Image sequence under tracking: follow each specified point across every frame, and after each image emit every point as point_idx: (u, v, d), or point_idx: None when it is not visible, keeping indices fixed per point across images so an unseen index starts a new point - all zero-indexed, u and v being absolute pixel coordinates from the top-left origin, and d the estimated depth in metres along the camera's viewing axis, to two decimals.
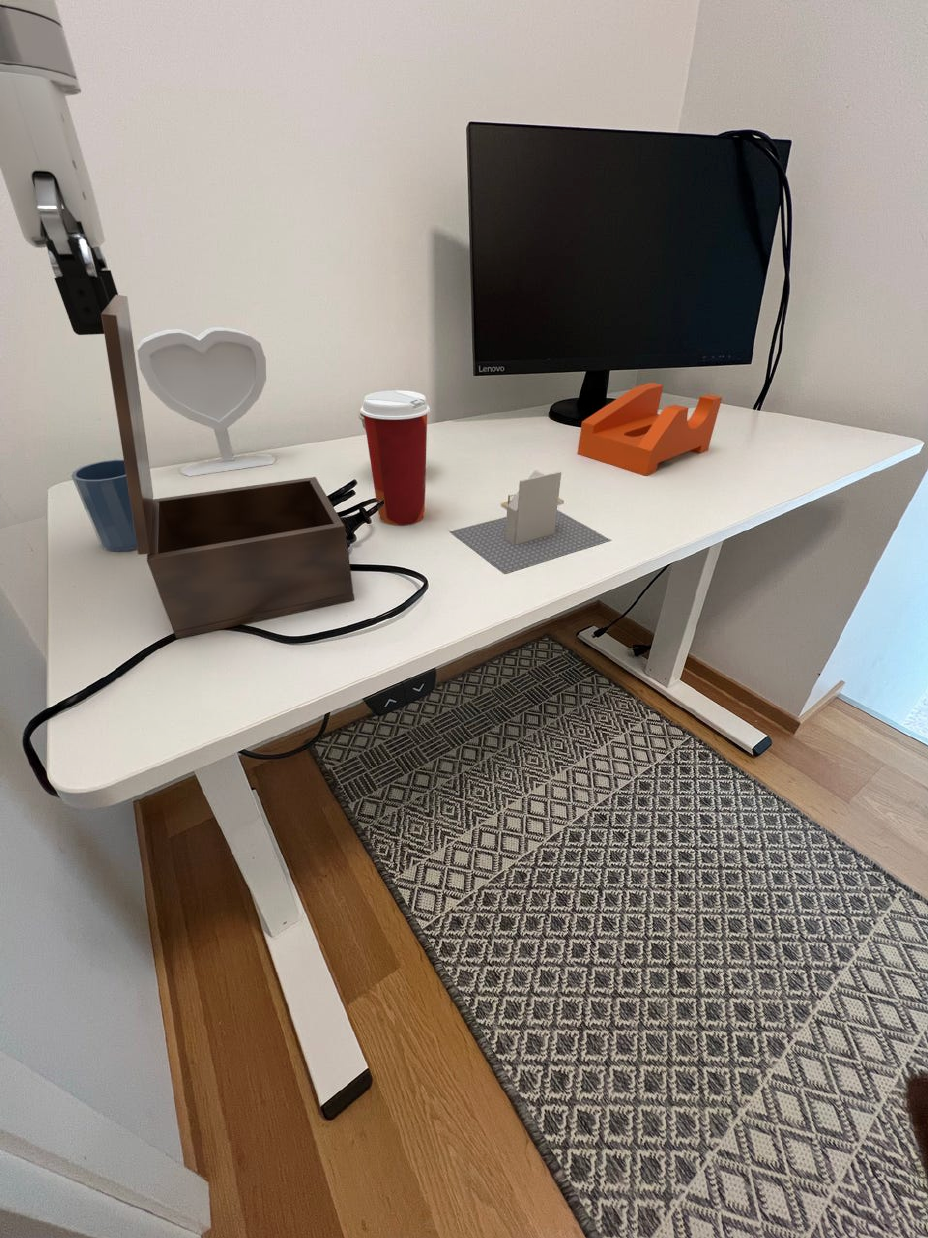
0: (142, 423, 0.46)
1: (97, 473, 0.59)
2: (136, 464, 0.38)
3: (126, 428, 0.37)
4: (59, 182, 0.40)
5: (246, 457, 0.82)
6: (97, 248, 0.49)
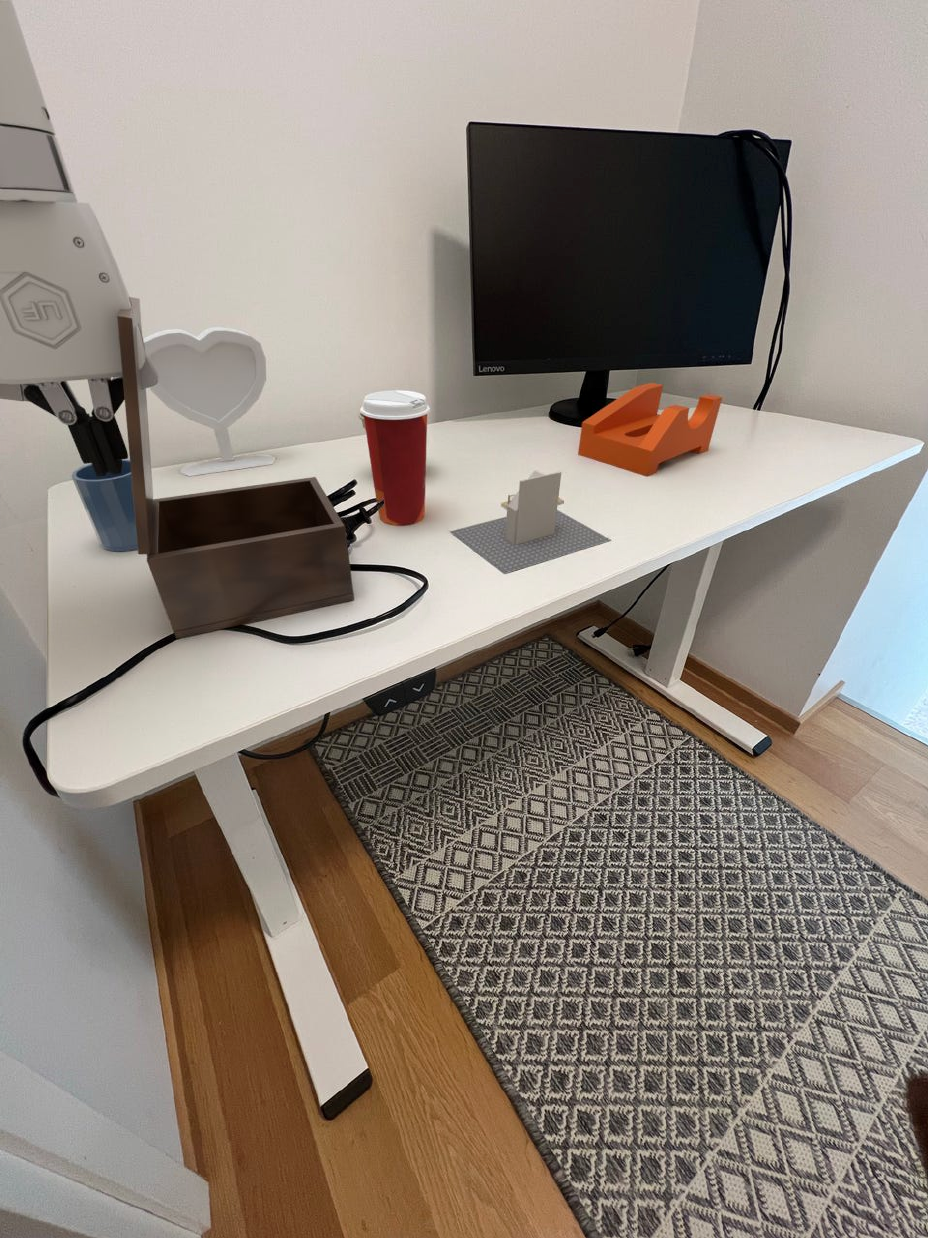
0: (147, 424, 0.46)
1: None
2: (142, 465, 0.38)
3: (134, 429, 0.37)
4: None
5: (246, 457, 0.82)
6: None
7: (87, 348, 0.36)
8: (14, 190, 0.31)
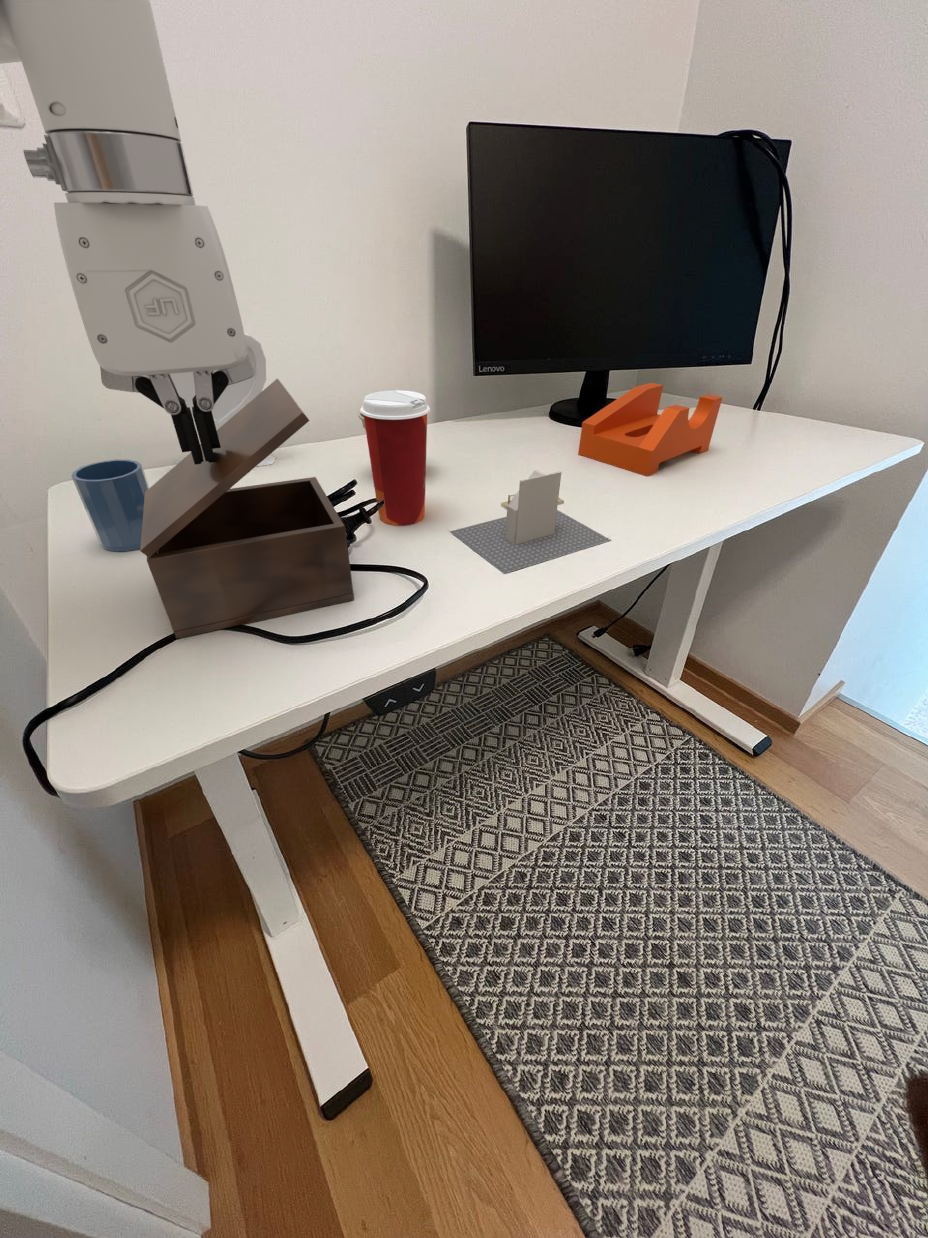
0: None
1: (97, 473, 0.59)
2: (216, 498, 0.42)
3: (238, 475, 0.41)
4: None
5: None
6: None
7: (199, 342, 0.39)
8: (150, 194, 0.33)
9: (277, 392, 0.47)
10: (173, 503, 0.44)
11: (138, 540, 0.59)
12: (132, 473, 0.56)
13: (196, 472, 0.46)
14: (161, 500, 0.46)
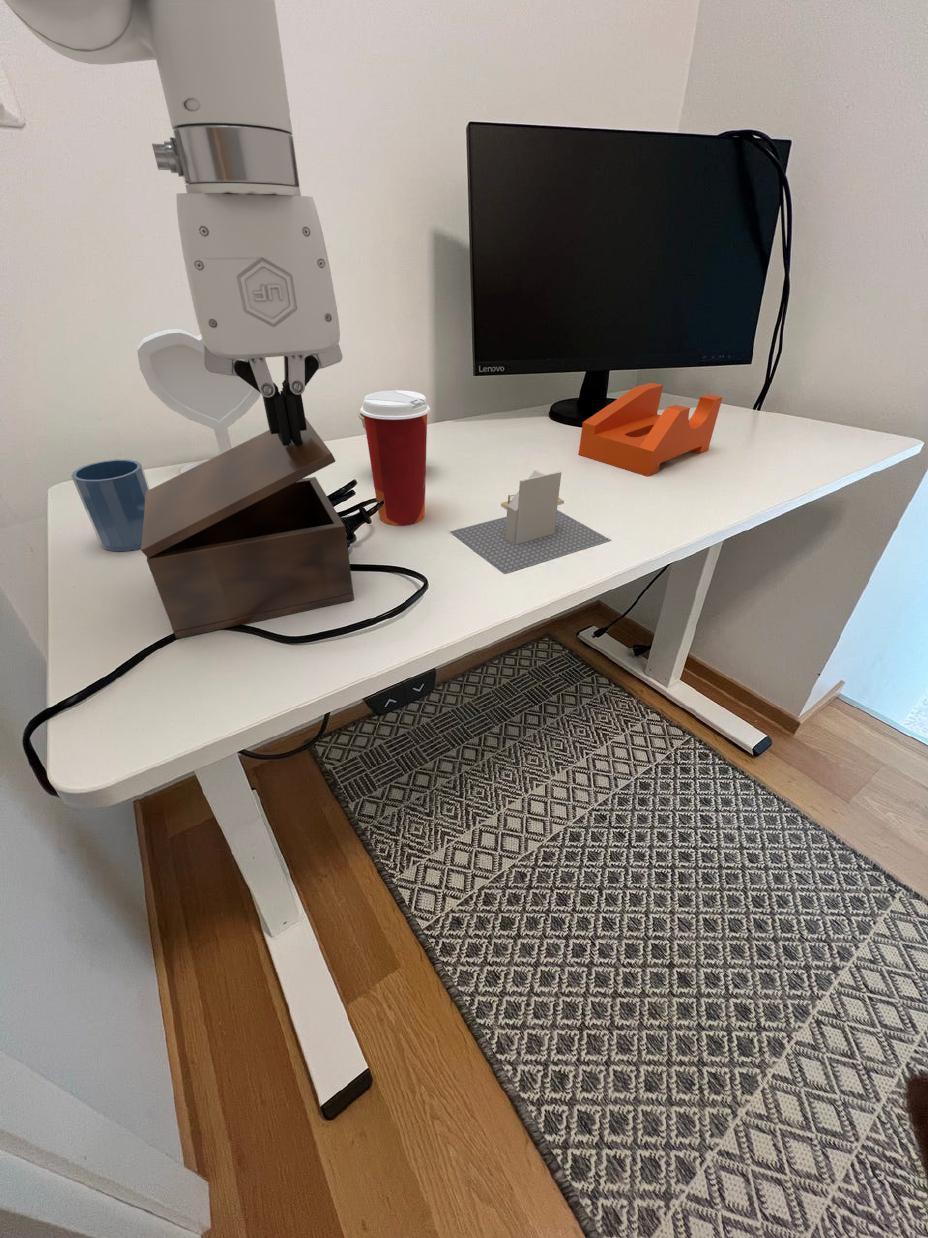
0: None
1: (97, 473, 0.59)
2: (230, 515, 0.43)
3: (256, 497, 0.43)
4: None
5: None
6: None
7: (299, 327, 0.41)
8: (268, 185, 0.35)
9: None
10: (181, 510, 0.45)
11: (138, 540, 0.59)
12: (132, 473, 0.56)
13: (209, 484, 0.47)
14: (166, 504, 0.47)
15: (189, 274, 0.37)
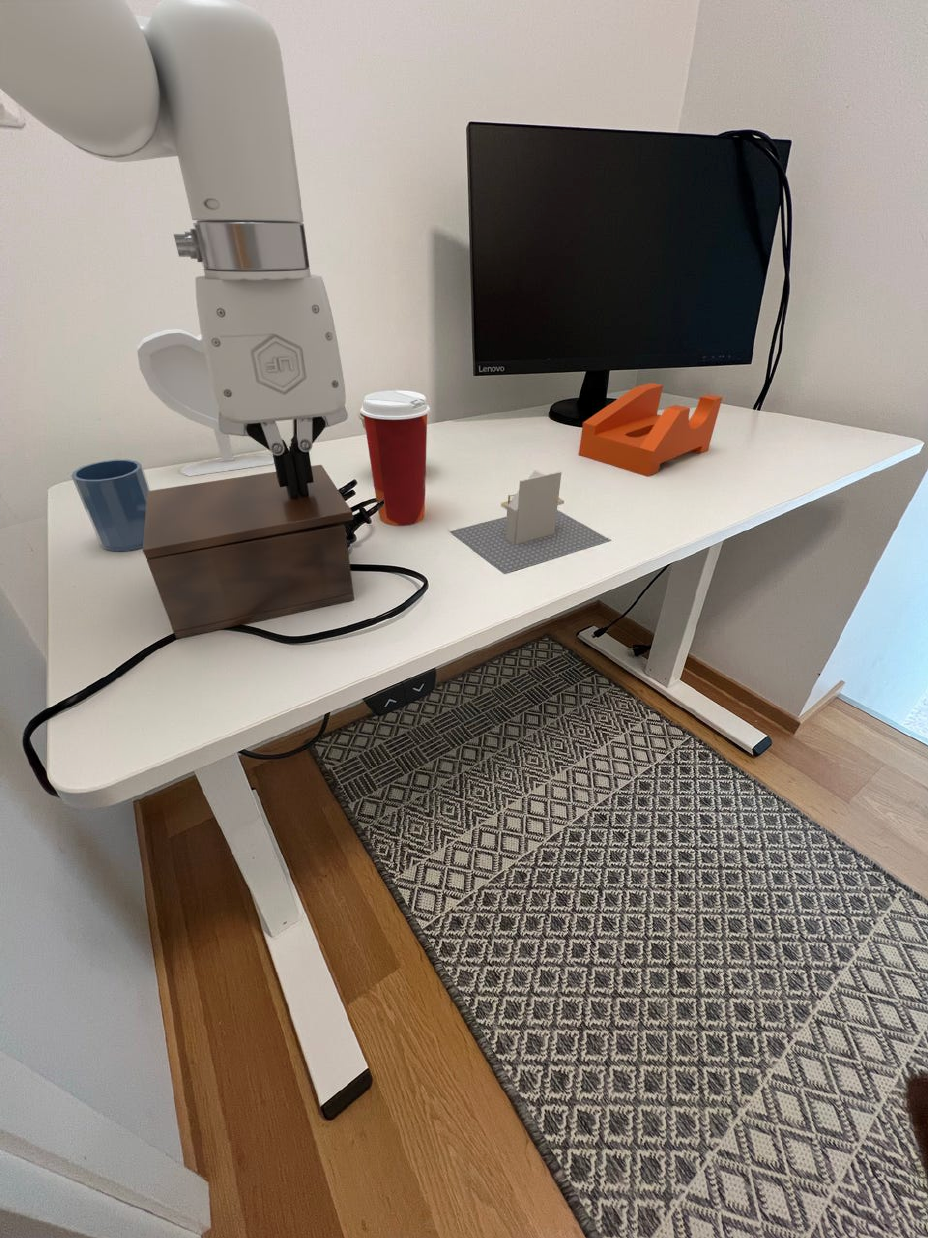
0: None
1: (97, 473, 0.59)
2: (240, 540, 0.44)
3: (271, 531, 0.45)
4: None
5: (246, 457, 0.82)
6: None
7: (307, 393, 0.44)
8: (281, 271, 0.38)
9: (322, 478, 0.53)
10: (189, 521, 0.45)
11: (138, 540, 0.59)
12: (132, 473, 0.56)
13: (220, 505, 0.48)
14: (172, 511, 0.47)
15: (206, 350, 0.40)
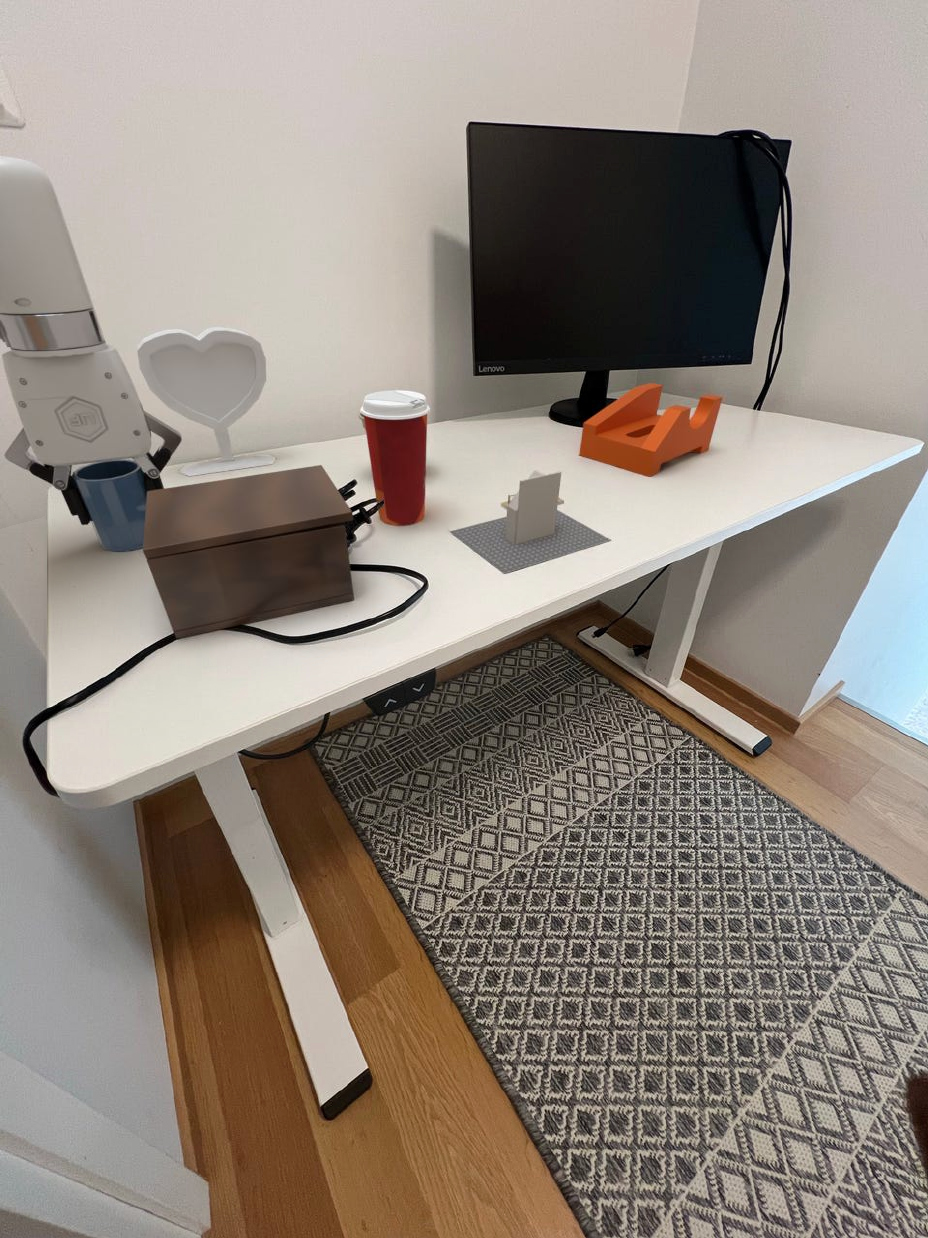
0: None
1: (97, 473, 0.59)
2: (241, 540, 0.44)
3: (271, 531, 0.45)
4: (142, 407, 0.56)
5: (246, 457, 0.82)
6: None
7: (112, 441, 0.53)
8: (68, 350, 0.48)
9: (322, 478, 0.53)
10: (189, 521, 0.45)
11: (138, 540, 0.59)
12: (132, 473, 0.56)
13: (220, 505, 0.48)
14: (172, 511, 0.47)
15: (17, 409, 0.50)
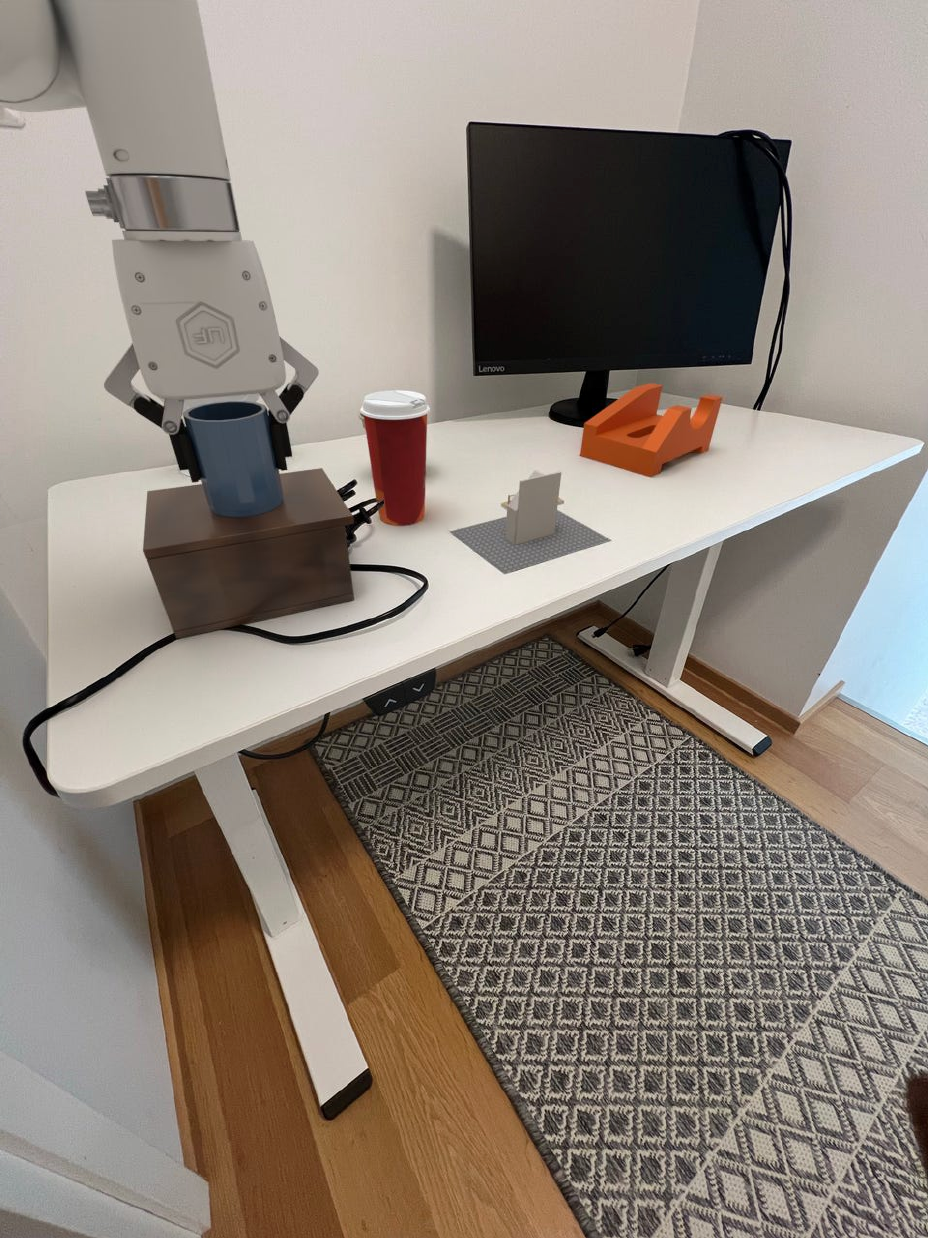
0: None
1: (208, 418, 0.46)
2: (241, 542, 0.44)
3: (271, 533, 0.45)
4: None
5: None
6: None
7: (242, 368, 0.41)
8: (203, 232, 0.35)
9: (322, 481, 0.53)
10: (190, 522, 0.45)
11: (259, 503, 0.46)
12: (260, 414, 0.44)
13: None
14: (172, 511, 0.47)
15: (127, 318, 0.37)
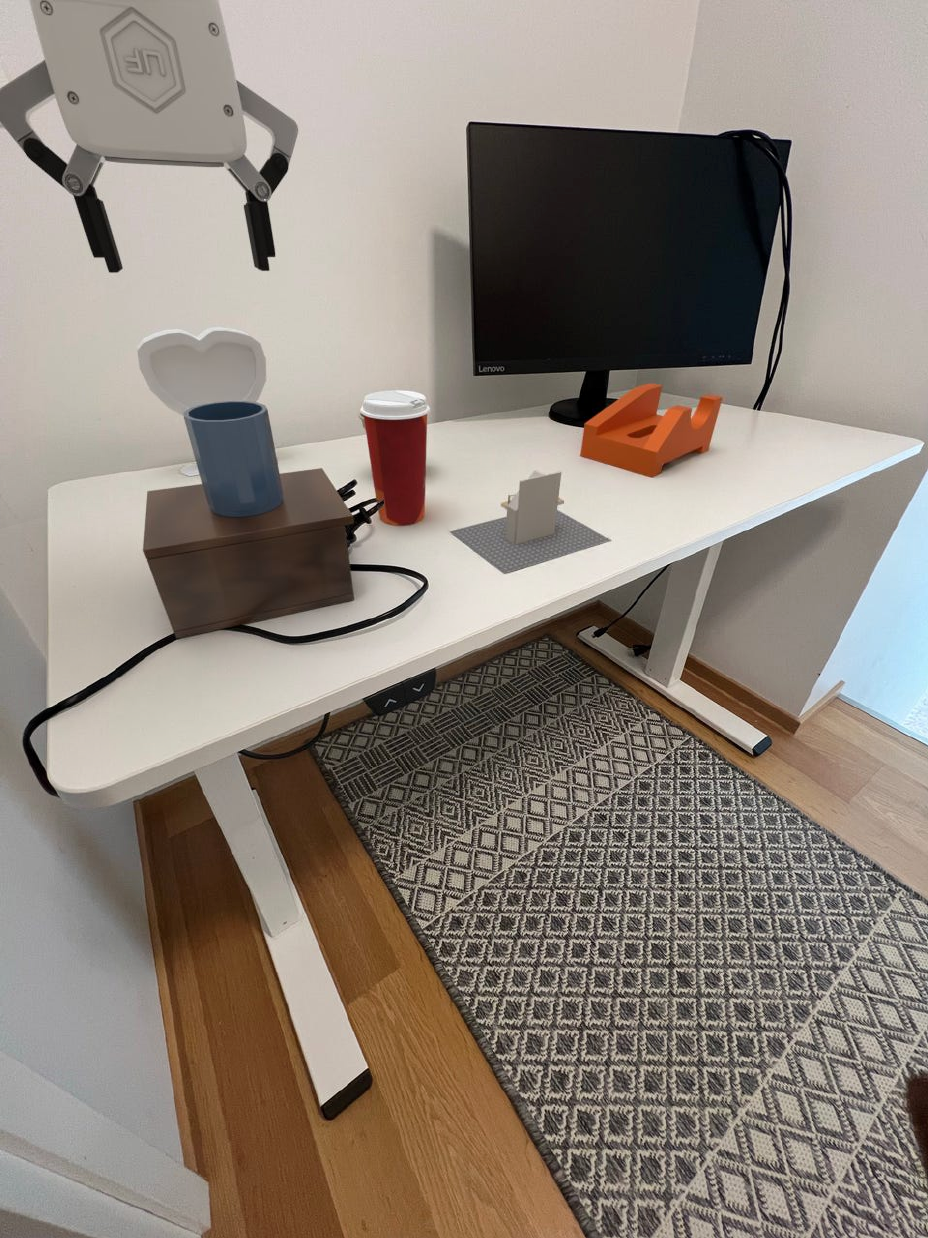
0: None
1: (208, 418, 0.46)
2: (241, 542, 0.44)
3: (271, 533, 0.45)
4: None
5: None
6: None
7: (190, 118, 0.33)
8: None
9: (322, 481, 0.53)
10: (190, 522, 0.45)
11: (259, 503, 0.46)
12: (260, 414, 0.44)
13: None
14: (172, 511, 0.47)
15: (36, 23, 0.29)
